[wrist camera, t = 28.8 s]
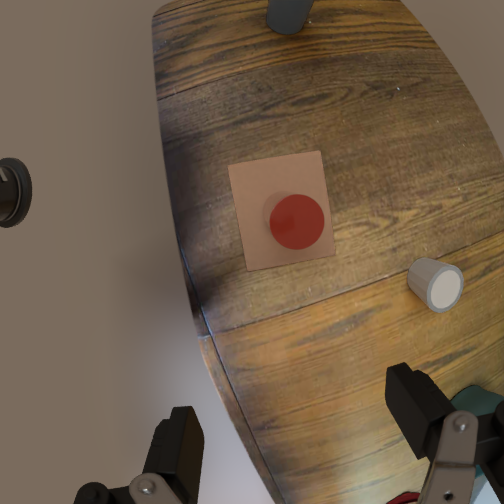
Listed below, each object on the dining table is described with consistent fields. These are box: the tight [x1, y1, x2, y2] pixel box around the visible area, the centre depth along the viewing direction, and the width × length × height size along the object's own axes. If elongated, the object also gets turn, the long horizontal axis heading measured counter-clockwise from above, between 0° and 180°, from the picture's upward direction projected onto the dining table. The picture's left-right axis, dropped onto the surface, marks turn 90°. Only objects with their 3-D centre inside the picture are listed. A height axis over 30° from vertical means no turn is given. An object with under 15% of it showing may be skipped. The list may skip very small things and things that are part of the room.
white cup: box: [407, 257, 463, 313], centre depth 39 cm, size 7×7×7 cm
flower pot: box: [451, 385, 504, 479], centre depth 42 cm, size 18×18×17 cm
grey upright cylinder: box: [266, 0, 314, 34], centre depth 28 cm, size 5×5×10 cm
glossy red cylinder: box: [263, 191, 324, 250], centre depth 34 cm, size 5×5×10 cm
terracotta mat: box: [227, 150, 336, 272], centre depth 39 cm, size 12×14×1 cm
